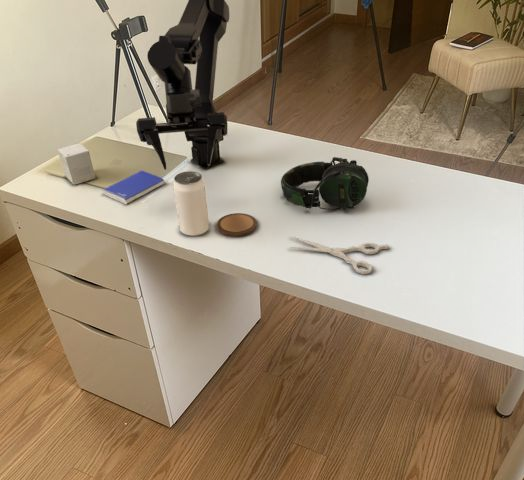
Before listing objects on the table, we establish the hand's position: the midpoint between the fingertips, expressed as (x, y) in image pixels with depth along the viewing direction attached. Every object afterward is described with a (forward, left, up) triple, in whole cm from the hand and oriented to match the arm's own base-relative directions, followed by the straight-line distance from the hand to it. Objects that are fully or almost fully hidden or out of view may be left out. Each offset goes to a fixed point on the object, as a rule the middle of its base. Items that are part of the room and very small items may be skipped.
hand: (187, 167), depth 112 cm
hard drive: (+3, -20, -12) cm, 24 cm away
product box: (+10, -35, -12) cm, 39 cm away
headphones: (-27, +15, -12) cm, 33 cm away
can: (+3, +5, -12) cm, 13 cm away
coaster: (-5, +10, -12) cm, 16 cm away
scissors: (-13, +32, -12) cm, 36 cm away
